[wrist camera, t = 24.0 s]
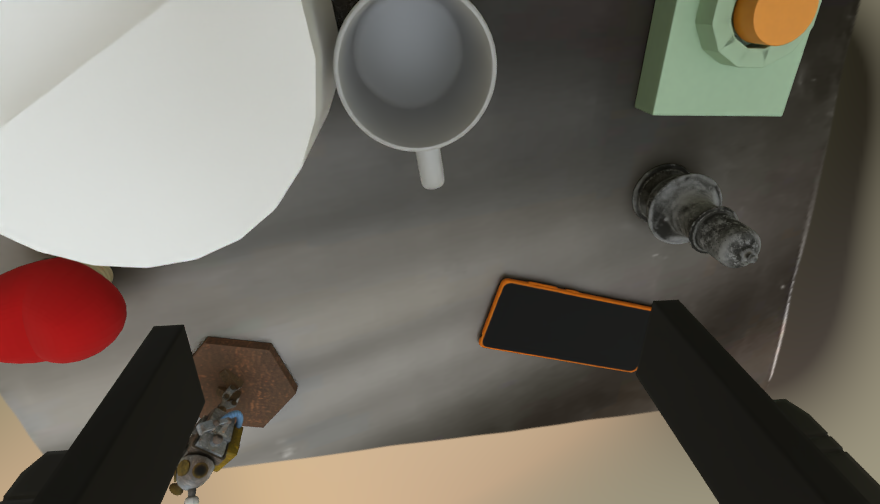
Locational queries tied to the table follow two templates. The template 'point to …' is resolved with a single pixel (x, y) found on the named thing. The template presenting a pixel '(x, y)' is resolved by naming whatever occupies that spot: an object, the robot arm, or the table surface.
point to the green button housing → (712, 64)
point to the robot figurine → (230, 405)
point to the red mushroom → (58, 311)
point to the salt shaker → (693, 215)
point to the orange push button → (773, 20)
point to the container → (155, 121)
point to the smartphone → (565, 325)
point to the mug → (415, 74)
